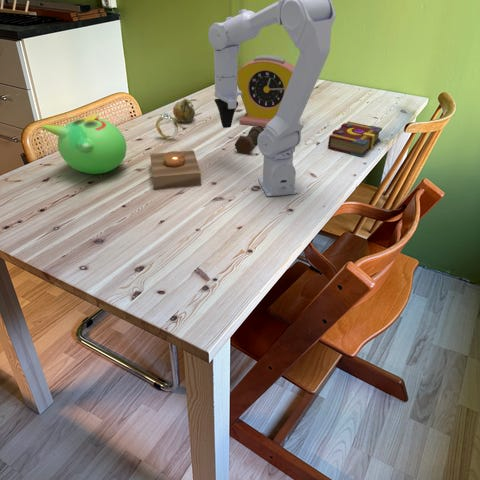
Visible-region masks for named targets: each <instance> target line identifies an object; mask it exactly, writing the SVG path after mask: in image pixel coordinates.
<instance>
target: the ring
mask: <svg viewBox="0 0 480 480" xmlns="http://www.w3.org/2000/svg"><path fill="white" fill-rule="evenodd" d="M163 120H168V121H169V122H171V123H172V125H173V128H174V132H173V134H172V135H170V134H169V135H166V134H165V133H164V132H163V131H162V129H161V127H160V123H161V122H162V121H163ZM155 128H156V130H157V133H158V134H159V135H160V136H161V137H162V138H163V139H166V140H168V141H169V140H172V139H174V138H175V137H176V136H177V134H178V133H179V125H178V122H177V121H176V119H175V117H174V118H173V117H172V116H171V114H168V113H163V114H160V117H159V118H158V119H157V120H156V122H155Z"/></svg>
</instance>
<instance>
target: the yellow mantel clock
mask: <svg viewBox="0 0 480 480" xmlns="http://www.w3.org/2000/svg"><path fill="white" fill-rule="evenodd" d="M294 68H295V65H293V64H291V62H289V61H286V59H285V58H283V57H281V56H279V55H275V54H262V55H257V56H255V57H254V58H253V59H252V60H251V61H248V62H247V63H245V64H244V65H242V66H241V67H240V68H238V69H237V90H240V91H241V92H242V95H240V97H241V99H242V104H243V105H244V106H243V107H244V109H245V110H244V111H245V112H246V113H245V114H244V115H242V117H241V118H240V119H239V124H240V125H246V126H252V127H257V126H261V127H263V128H265V127H266V125H267V124H268V123H269V122H270V121H271V120H272V119H273V118H274V117H275V116H276V114H277V111H278V109H279V106H280V104H281V101H282V98H283V96H284V93H285V91H286V88H287V86H288V83H289V80H290V78H291V75H292V73H293V70H294Z"/></svg>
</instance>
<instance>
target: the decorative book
mask: <svg viewBox="0 0 480 480" xmlns="http://www.w3.org/2000/svg"><path fill="white" fill-rule="evenodd" d="M382 131H383V127H379V126H376V125H375V126H374V125H367V124H363V123H357V122H352V121H347V122H346V123H345V122H344V123H341V126H340V127H339V128H338V129H334V130H333V131H332V132H331V134H330V135H329V136H328V143H327V144H328V145H327V149H331V150H335V151H338V152H343V153H346V154H350V156H351V155H352V156H355V157H359V158H363V157H364V156H366V154H367V153H368V152H369V150H370V151H371V150H372V149H373V147H374V146H375V145H376V144H378V143H379V142H380V140H381V138H379V136H380V133H381V132H382ZM376 146H377V145H376Z"/></svg>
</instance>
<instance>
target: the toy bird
mask: <svg viewBox="0 0 480 480" xmlns="http://www.w3.org/2000/svg"><path fill="white" fill-rule="evenodd" d="M99 116H100V114H99V113H95V114H93V115H92V114H91V115H90V116H87V117H82V118H78V119H77V118H76V119H75V120H72V121H71V122H69V123H67V124H66V125H65V126H63V125H55V124H54V125H52V124H43V125H41V128H42V129H43V130H44V131H47V132H49V133H50V134H53V135H55V136H57V137H58V138H57V149H58V152H59V154H60V156H61V158H62V159H63V160H64V162H66V163H67V165H69V166H70V167H71V168H73V169H74V170H76V171H79V172H82V173H84V174H89V175H91V174H92V175H97V174H98V175H99V174H104V173H108V172H110V171H112V170H114V169H116V168H117V167H119V166H120V165H121V163H122V162H123V161H124V159H125V156H126V153H127V142H126V138H125V137H124V135H123V133H122V132H121V130H119V128H118V127H117V126H116V125H114V124H113V123H111V122H110V121H108V120H106V119H103V118H98V117H99Z"/></svg>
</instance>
